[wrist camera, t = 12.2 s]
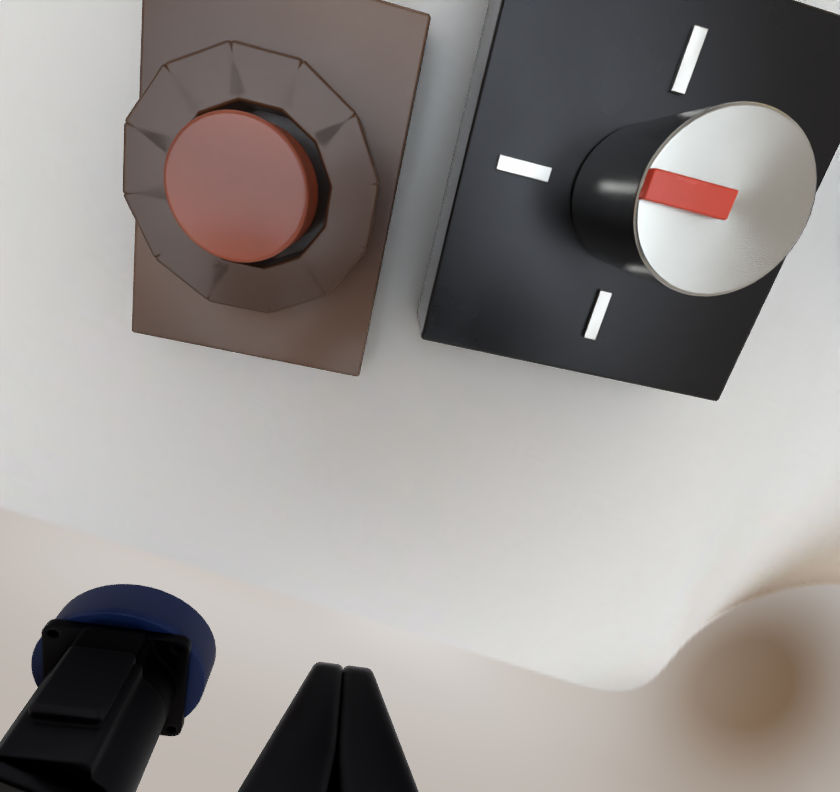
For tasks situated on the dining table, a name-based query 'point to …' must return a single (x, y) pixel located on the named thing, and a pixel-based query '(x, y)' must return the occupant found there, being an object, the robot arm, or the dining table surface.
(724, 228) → the dial
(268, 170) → the button
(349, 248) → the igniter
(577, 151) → the panel
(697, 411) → the dining table surface
